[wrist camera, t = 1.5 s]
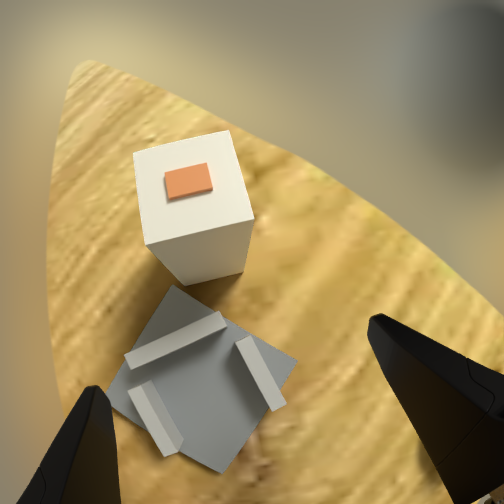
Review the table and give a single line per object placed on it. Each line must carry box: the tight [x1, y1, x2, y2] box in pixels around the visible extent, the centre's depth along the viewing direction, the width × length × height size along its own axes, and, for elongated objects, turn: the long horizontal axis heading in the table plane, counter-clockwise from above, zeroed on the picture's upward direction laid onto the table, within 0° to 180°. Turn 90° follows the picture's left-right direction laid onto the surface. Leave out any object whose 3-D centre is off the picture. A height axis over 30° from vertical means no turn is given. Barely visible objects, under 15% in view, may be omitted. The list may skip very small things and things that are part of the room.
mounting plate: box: [105, 284, 298, 474], centre depth 19 cm, size 10×10×4 cm
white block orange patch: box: [133, 130, 254, 286], centre depth 18 cm, size 5×4×11 cm
